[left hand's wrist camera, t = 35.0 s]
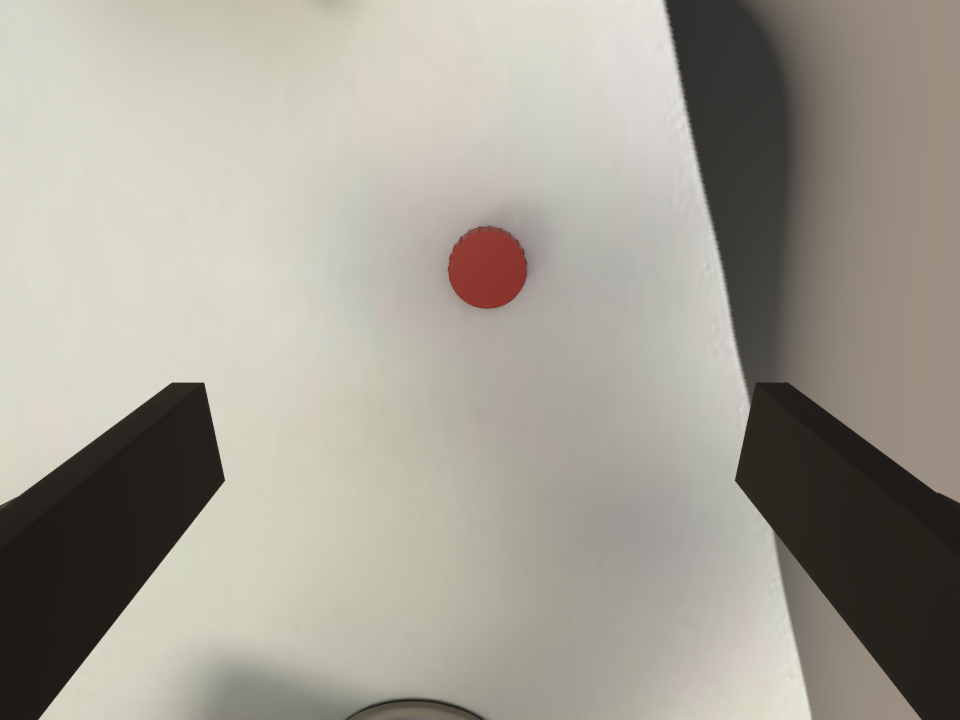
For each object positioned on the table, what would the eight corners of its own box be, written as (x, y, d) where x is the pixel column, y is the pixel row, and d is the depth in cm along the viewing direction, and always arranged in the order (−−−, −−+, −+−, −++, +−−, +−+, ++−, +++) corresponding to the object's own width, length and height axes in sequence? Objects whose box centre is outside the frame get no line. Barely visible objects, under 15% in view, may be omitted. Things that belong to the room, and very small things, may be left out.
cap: (462, 309, 29) (460, 318, 27) (439, 238, 27) (436, 243, 26) (533, 290, 28) (535, 298, 27) (514, 216, 27) (516, 220, 25)
